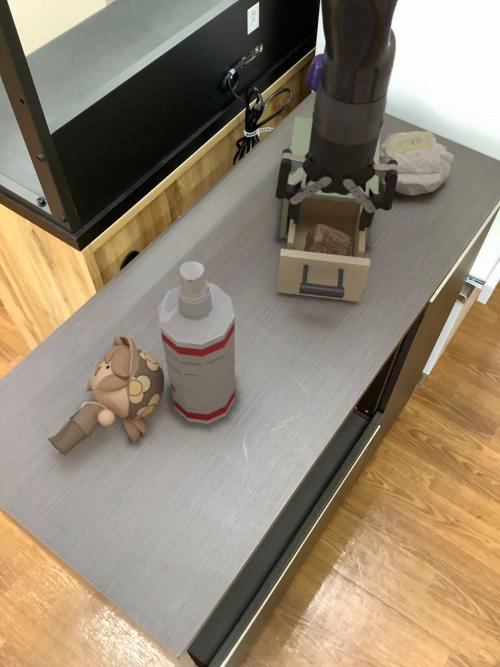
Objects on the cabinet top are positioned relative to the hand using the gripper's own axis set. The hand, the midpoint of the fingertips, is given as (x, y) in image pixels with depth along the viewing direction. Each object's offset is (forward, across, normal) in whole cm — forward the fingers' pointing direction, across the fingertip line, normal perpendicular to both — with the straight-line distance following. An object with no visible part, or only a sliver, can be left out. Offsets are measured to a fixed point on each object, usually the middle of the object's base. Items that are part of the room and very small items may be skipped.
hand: (328, 222), depth 81 cm
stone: (+8, 0, 0) cm, 8 cm away
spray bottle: (+10, +13, +22) cm, 28 cm away
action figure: (+10, +24, +27) cm, 37 cm away
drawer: (+8, 0, +1) cm, 9 cm away
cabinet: (+9, 0, -12) cm, 16 cm away
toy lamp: (+10, +3, -24) cm, 26 cm away
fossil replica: (+10, -13, -20) cm, 25 cm away
